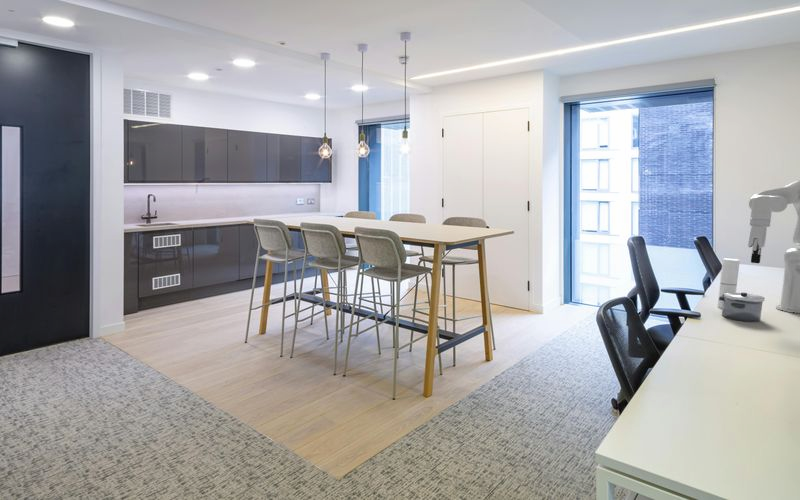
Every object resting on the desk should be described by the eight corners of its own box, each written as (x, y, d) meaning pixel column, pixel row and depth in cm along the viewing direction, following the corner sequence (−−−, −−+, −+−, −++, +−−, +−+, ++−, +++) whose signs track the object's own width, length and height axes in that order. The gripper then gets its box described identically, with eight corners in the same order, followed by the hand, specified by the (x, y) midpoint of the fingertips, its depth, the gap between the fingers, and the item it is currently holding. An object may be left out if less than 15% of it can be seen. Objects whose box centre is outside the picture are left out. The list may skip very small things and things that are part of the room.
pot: (724, 310, 245) (726, 292, 244) (764, 317, 233) (766, 298, 232) (713, 317, 231) (715, 298, 230) (755, 325, 220) (757, 305, 219)
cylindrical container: (719, 308, 249) (725, 259, 246) (715, 305, 256) (720, 258, 253) (736, 309, 247) (742, 260, 244) (731, 306, 254) (736, 258, 251)
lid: (727, 293, 242) (728, 288, 241) (767, 298, 230) (767, 293, 230) (719, 298, 231) (719, 292, 230) (760, 303, 219) (761, 297, 219)
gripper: (753, 221, 232) (749, 260, 234) (746, 223, 221) (741, 263, 224) (773, 223, 226) (768, 262, 229) (766, 224, 216) (761, 265, 219)
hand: (755, 262), depth 226 cm, fingers closed
